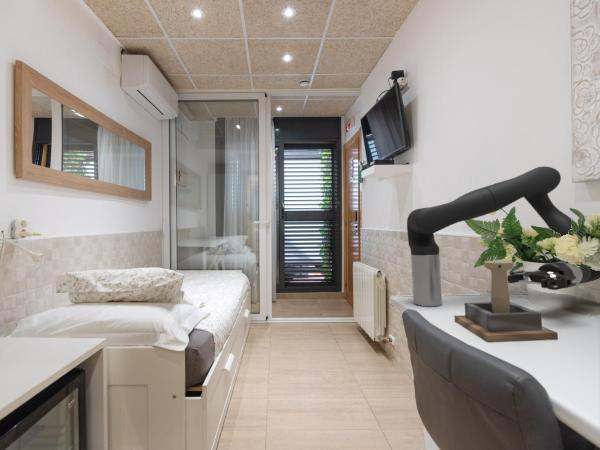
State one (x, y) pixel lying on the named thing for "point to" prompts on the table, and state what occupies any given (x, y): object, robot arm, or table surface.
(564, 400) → the table surface
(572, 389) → the table surface
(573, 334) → the table surface
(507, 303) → the handle
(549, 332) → the socket base
